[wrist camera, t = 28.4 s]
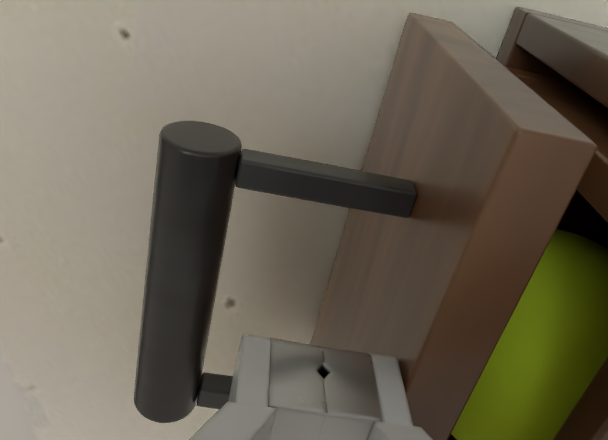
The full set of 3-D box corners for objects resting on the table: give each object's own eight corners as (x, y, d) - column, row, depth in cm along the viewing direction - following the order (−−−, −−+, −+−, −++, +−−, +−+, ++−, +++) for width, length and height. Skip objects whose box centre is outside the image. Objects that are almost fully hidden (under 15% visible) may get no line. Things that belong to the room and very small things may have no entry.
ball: (494, 344, 19) (414, 490, 16) (440, 191, 17) (333, 320, 13) (708, 369, 15) (670, 577, 12) (672, 172, 13) (611, 350, 9)
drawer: (163, 328, 19) (96, 570, 12) (208, -35, 14) (130, 47, 7) (658, 400, 21) (827, 635, 15) (871, 117, 16) (1298, 289, 9)
